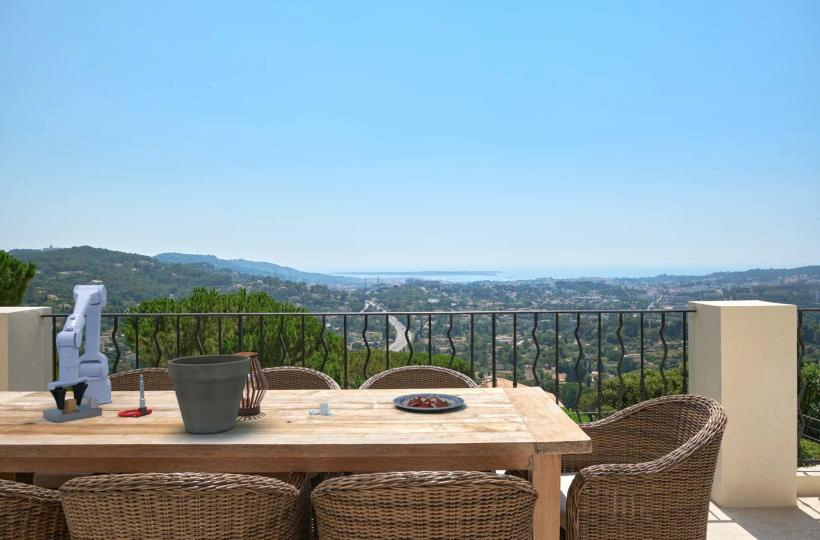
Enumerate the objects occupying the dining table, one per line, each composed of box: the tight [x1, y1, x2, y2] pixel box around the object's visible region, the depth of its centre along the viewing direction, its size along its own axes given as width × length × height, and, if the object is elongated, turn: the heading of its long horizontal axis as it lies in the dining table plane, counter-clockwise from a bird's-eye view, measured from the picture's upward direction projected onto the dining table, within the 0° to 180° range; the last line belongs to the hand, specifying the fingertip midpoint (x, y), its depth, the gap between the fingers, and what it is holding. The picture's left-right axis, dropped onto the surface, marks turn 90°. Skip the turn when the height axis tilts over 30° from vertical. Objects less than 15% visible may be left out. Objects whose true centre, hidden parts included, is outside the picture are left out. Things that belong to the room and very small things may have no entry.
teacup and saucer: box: [308, 402, 336, 418], centre depth 213 cm, size 9×8×4 cm
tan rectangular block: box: [62, 398, 76, 413], centre depth 210 cm, size 3×3×6 cm
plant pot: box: [167, 354, 252, 434], centre depth 195 cm, size 25×25×22 cm
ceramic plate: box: [392, 393, 465, 412], centre depth 225 cm, size 26×26×3 cm
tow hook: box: [117, 374, 153, 418], centre depth 214 cm, size 9×14×10 cm
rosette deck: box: [42, 395, 103, 424], centre depth 211 cm, size 14×12×6 cm
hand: (69, 407), depth 210 cm, fingers open, 6 cm apart
